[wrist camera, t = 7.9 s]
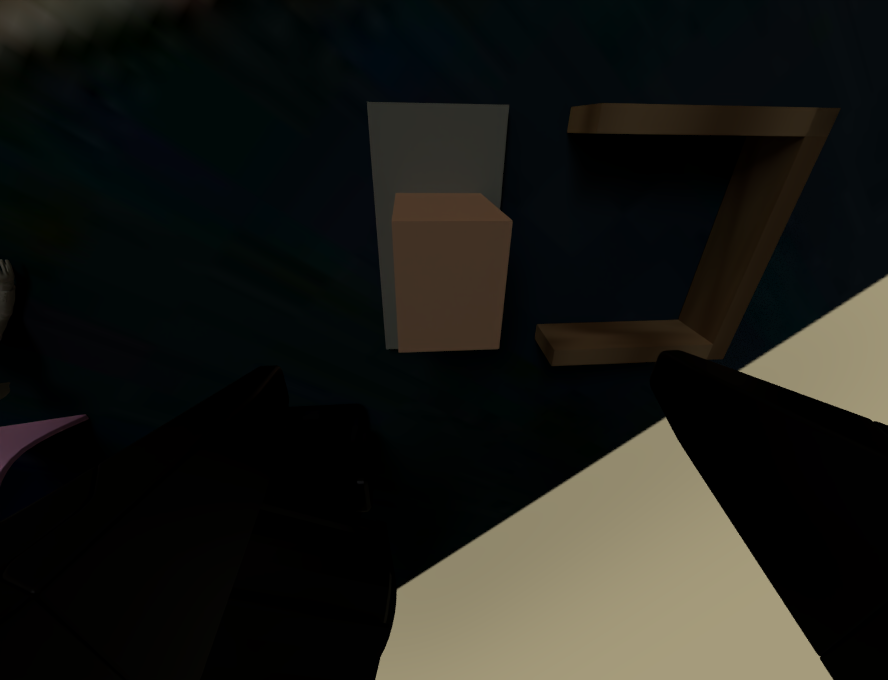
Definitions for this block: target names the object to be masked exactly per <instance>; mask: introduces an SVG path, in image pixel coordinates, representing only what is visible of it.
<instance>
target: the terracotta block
mask: <svg viewBox="0 0 888 680" xmlns="http://www.w3.org/2000/svg"><path fill="white" fill-rule="evenodd" d="M512 222H513V221H512V220H511V219H510V218H509V217H508V216H506V215H505V214H504V213H503V212H502V211H501V210H499V209H498V208H497V207H496V206H495V205H494V204H493V203H491V202H490V201H489V200H488V199H487V198H486V197H484V196H483V195H482V194H481V193H396V194H395V201H394V208H393V215H392V239H393V257H394V276H395V294H396V312H397V331H398V349H399V353H400V352H429V351H457V350H486V349H499V344H500V335H501V326H502V316H503V307H504V297H505V288H506V279H507V269H508V260H509V250H510V241H511V232H512Z"/></svg>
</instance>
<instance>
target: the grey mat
mask: <svg viewBox="0 0 888 680" xmlns="http://www.w3.org/2000/svg"><path fill="white" fill-rule="evenodd" d="M367 109H368V122H369V135H370V148H371V160H372V173H373V186H374V199H375V212H376V225H377V237H378V250H379V263H380V276H381V289H382V302H383V314H384V327H385V340H386V349H398V331H397V312H396V294H395V276H394V257H393V239H392V215H393V208H394V201H395V194H396V193H481V194H482V195H483V196H484V197H486V198H487V199H488V200H489V201H490V202H491V203H493V204H494V205H495V206H496V207H497V208H498V209H499V210H500V204H501V193H502V181H503V169H504V158H505V146H506V134H507V123H508V111H509V105H485V104H436V103H387V102H367Z"/></svg>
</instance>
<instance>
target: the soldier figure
mask: <svg viewBox="0 0 888 680" xmlns="http://www.w3.org/2000/svg"><path fill="white" fill-rule="evenodd" d="M5 262H6V266H5V264H4V261H3V260H2V259H0V265H1V267H2V272H3V273H2V272H1V270H0V340H1V339H2V337H3V336H2V334H3V332H4V330H5V329H6V327H7V322H8V320H9V318H10V316H11V315H12V314H13V306H14V303H15V289H16V286H15V285H14V278H15V275H14V272H13V269H12V266H11V264H10V261H9V260H5ZM6 268H7V269H6ZM9 384H10V382H7V383H0V399H2V398H4V397H5V396H6V395H7V394H8V393H9V392H10V388H9Z"/></svg>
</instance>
